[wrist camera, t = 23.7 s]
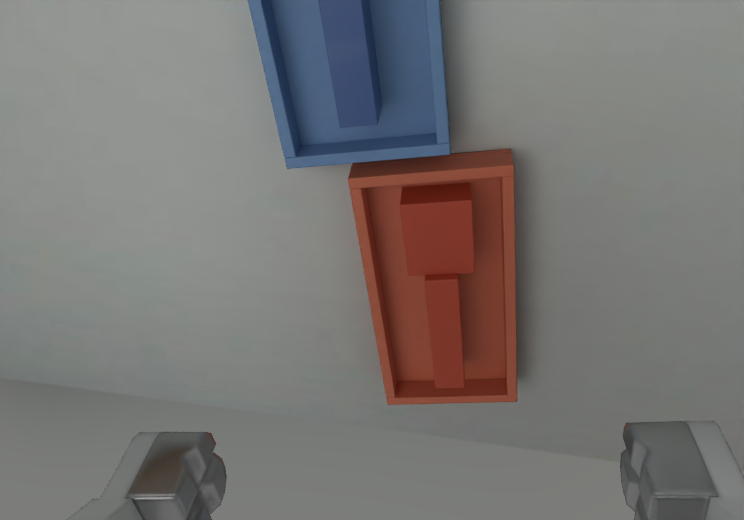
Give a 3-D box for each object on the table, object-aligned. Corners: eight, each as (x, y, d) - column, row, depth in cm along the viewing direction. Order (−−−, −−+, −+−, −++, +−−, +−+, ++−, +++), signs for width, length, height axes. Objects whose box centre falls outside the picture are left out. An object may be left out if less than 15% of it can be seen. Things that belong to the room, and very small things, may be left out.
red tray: (514, 379, 40) (517, 402, 38) (389, 382, 41) (387, 405, 39) (510, 148, 31) (514, 164, 29) (352, 162, 32) (347, 178, 31)
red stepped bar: (478, 359, 38) (480, 387, 36) (421, 360, 39) (420, 389, 37) (470, 182, 32) (472, 204, 30) (401, 186, 32) (399, 209, 30)
